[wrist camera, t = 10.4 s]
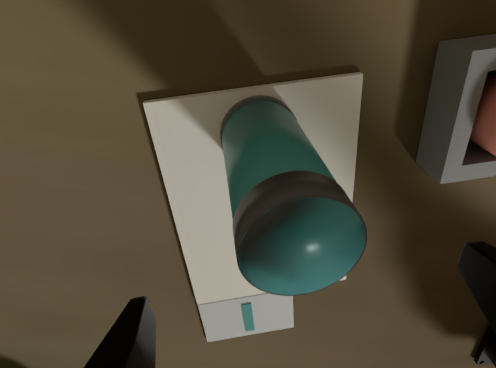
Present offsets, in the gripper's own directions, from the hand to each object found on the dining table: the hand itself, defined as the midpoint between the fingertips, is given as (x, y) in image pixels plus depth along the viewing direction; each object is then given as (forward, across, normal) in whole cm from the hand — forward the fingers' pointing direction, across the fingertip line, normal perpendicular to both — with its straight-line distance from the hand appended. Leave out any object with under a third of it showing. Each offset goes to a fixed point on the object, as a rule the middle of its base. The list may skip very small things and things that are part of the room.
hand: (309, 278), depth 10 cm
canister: (+10, 0, 0) cm, 10 cm away
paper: (+10, 0, +5) cm, 12 cm away
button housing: (+10, -13, 0) cm, 17 cm away
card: (+10, +2, +15) cm, 19 cm away
